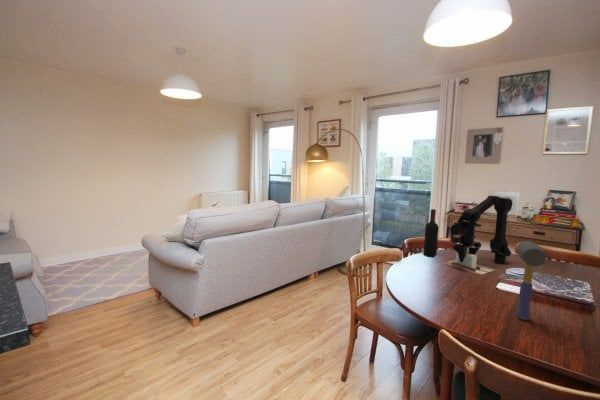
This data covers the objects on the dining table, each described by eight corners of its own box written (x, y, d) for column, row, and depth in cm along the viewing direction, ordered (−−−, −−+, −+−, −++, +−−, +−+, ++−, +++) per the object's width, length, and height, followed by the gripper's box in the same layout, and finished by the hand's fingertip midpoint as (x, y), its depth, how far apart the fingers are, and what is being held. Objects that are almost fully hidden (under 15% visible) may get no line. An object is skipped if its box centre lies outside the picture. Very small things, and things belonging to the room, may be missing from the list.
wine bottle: (420, 254, 191) (424, 208, 187) (429, 253, 195) (432, 208, 191) (430, 258, 185) (434, 210, 181) (439, 256, 188) (442, 210, 184)
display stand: (458, 260, 181) (458, 256, 181) (495, 271, 164) (495, 266, 163) (443, 264, 173) (444, 260, 173) (480, 276, 156) (481, 272, 155)
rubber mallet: (538, 329, 107) (549, 249, 103) (513, 323, 110) (522, 246, 106) (531, 313, 118) (540, 240, 114) (508, 309, 121) (516, 238, 117)
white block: (455, 264, 170) (456, 251, 169) (458, 264, 171) (459, 250, 170) (473, 270, 161) (474, 256, 160) (475, 269, 163) (477, 255, 162)
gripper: (463, 228, 175) (461, 254, 178) (444, 232, 166) (442, 259, 168) (483, 232, 166) (480, 259, 168) (464, 237, 156) (462, 265, 158)
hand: (465, 260), depth 166 cm, fingers open, 9 cm apart
